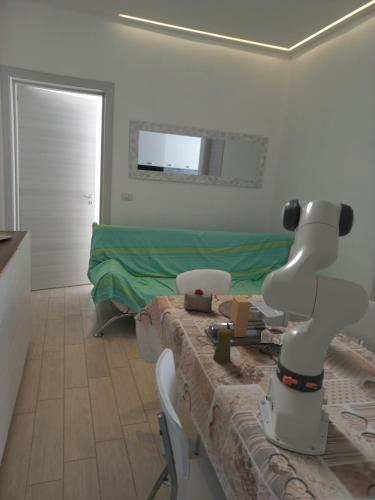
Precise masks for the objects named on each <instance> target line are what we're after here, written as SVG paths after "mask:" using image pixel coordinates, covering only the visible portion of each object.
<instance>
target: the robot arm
mask: <svg viewBox="0 0 375 500" xmlns="http://www.w3.org/2000/svg"><path fill="white" fill-rule="evenodd" d="M280 220H281V224H282V228H284V229H285V230H286V231H288V232H292V233H294V232H295V237H294V241H293V242H292V243H291V245H290V248H289V250H288V253H287V257H286V260H285V264H284V265H283V266H282V267H280V268H277V269H276V270H272V271H271V272H270V273H268V274H267V276H266V277H265V278H264V279H263V283H262V285H261V297H262V299H257V298H256V299H255V298H249V299H248V298H247V299H248V300H249V301H250V302H251V304H250V311H249V315H252V316H256V317H259V318H260V319H261V320H262V321H263V322H264V323H265V325H266V326H269V327H272V328H273V327H274V328H275V327H278V328H279V327H281V328H288V326H289V322H291V323H303V324H299V325H296V326H292V327H290V328H289V329H288V330H287V331H286V332H285V333H284V335H283V337H282V344H281V349H280V350H281V351H280V356H279V357H278V360H277V363H276V371H275V373H273V374H272V375H270V376H269V379H268V382H267V383H268V384H267V389H266V393H265V396H264V397H260V398H258V401H257V405H258V409H259V415H260V419H261V423H262V429H263V432H264V433H263V434H264V437H265V439H266V440H267V441H269V442H270V443H272V444H273V445H276V446H277V447H279V448H283V449H286V450H289V451H292V452H295V453H299V454H303V455H310V456H320V455H321V456H322V455H325V454H326V449H327V441H328V433H329V424H330V415H329V412H327V411H326V410H325V409H324V408H323V406H327V405H328V399H325V395H326V391H327V389H326V388H325V386H323V383H324V380H325V370H324V365H325V361H326V357H327V354H328V350H329V347H330V345H331V343H332V342H333V340H334V339H335V337H336V336H337V335H338V334H339V333H341V331H343V330H344V329H345V328H347V327H349V326H351V325H354V324H356V323H359V322H360V321H361V320H362V319H363V318H364V317H365V316H366V315H367V313H368V311H369V306H370V299H369V295H368V292H367V291H366V289H365V288H364V286H363V285H362V284H358V283H357V282H356V283H355V282H353V281H350V280H348V279H344V278H340V277H339V278H338V277H331V276H325V275H319V274H315V273H316V272H319V271H323V270H325V269H327V268H330V267H331V266H333V265H334V264H335V263H336V261H337V260H338V257H339V242H340V241H339V239H340V238H341V237H346V236H347V235H349V234H350V233H351V230H352V229H353V228H354V224H355V213H354V209H353V208H352V206H350V205H349V204H346V203H341V202H340V203H336V202H331V201H329V200H327V199H321V198H320V199H304V200H299V199H298V198H297V199H290V200H288V201H287V202H285V204H284V205H283V207H282V209H281V212H280Z"/></svg>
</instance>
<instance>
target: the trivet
mask: <svg viewBox="0 0 375 500" xmlns="http://www.w3.org/2000/svg"><path fill="white" fill-rule="evenodd" d="M231 306H232V300H225V301H222V302H220V303H219V304H218V308H217V309H218V310H217V311H218V312H219V314H221V315H222V316H224V317H226V318H227V319H229V320H230V314H231ZM258 322H263V321H262V320H261V319H260V318H259V317H256V316H252V315H249V318H248V323H258Z"/></svg>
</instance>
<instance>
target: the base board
mask: <svg viewBox="0 0 375 500" xmlns="http://www.w3.org/2000/svg"><path fill="white" fill-rule="evenodd" d="M203 331H204V333H205V335H206V336H207V338H208V339H209V340H210V342H211V343H212V345H213V346H216V345H217V342H218V337H216V338H212V337H211V336H210V335H209V333H208V332H209V328H204V330H203ZM256 331H257V330H247V332H246V337H234V336H232V339H231V340H230V346H235V345H237V346H238V345H239V346H240V345H261V344H260V342H261V336H260V335H259V334H258V333H257V332H256Z"/></svg>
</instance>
